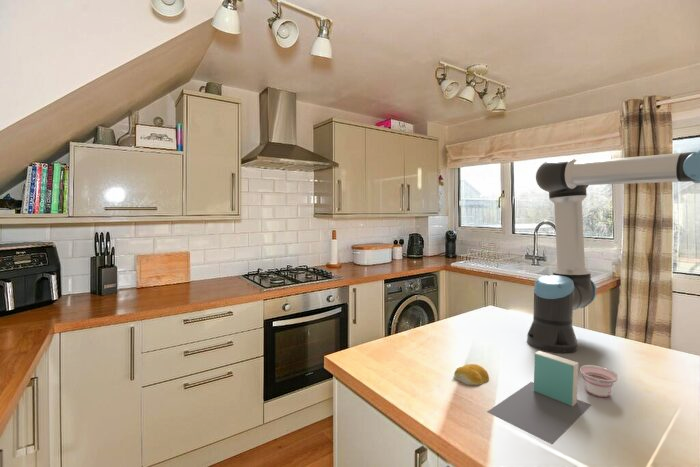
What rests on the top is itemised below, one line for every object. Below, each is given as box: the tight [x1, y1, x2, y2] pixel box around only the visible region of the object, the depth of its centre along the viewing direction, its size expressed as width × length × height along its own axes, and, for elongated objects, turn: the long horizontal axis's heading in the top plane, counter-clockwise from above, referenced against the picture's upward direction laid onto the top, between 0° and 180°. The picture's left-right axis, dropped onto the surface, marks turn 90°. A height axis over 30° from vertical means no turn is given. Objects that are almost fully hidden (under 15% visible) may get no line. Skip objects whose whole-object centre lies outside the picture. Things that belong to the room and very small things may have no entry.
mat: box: [486, 381, 592, 445], centre depth 80 cm, size 14×22×1 cm, turn 128°
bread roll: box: [453, 363, 490, 386], centre depth 96 cm, size 8×9×4 cm
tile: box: [533, 350, 579, 406], centre depth 85 cm, size 9×3×10 cm, turn 38°
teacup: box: [579, 364, 619, 398], centre depth 87 cm, size 12×12×6 cm
